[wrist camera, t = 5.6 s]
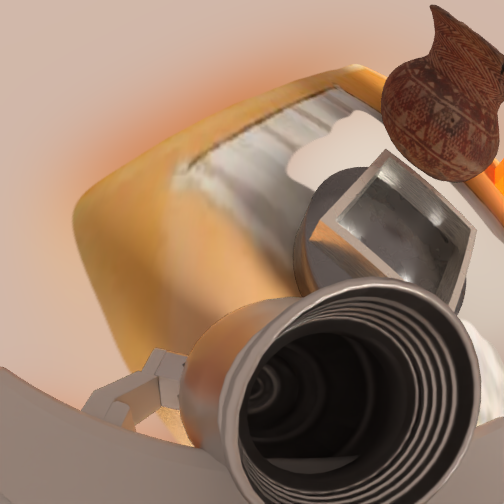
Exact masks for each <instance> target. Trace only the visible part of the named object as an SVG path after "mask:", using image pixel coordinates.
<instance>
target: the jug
mask: <svg viewBox="0 0 504 504" xmlns="http://www.w3.org/2000/svg"><path fill="white" fill-rule="evenodd" d="M430 9H431V11H432V15H433V19H434V27H435V38H434V42H433V45H432V48H431V50H430V52H429V54H428V55H427V56H425V57H422V58H417V59H414V60H411V61H408V62H405V63H403V64H402V65H400V66H398V67H397V68H396V69H395V70H394V71H393V72H392V73H391V74H390V75H389V77H388V78H387V80H386V82H385V84H384V87H383V92H382V98H381V112H382V119H383V123H384V126H385V128H386V130H387V132H388V135H389V137H390V139H391V141H392V142H393V144H394V145H395V147H396V148H397V149H398V151H399V152H400V153H401V154H402V155H403V156H404V157H405V158H406V159H407V160H408V161H409V162H411V163H412V164H413V165H414V166H415V167H417V168H418V169H420V170H421V171H423V172H424V173H426V174H427V175H429V176H431V177H432V178H434V179H437V180H441V181H448V182H464V181H467V180H469V179H471V178H473V177H475V176H477V175H478V174H480V173H482V172H483V171H484V170H485V169H486V168H487V167H488V166H489V165H490V164H491V163H492V162H493V160H494V158H495V156H496V155H497V151H498V147H499V126H498V115H497V112H498V109H499V107H500V105H501V103H502V102H503V101H504V55H503V54H501V53H500V52H499V51H498V50H497V49H496V48H495V47H494V46H492V45H491V44H490V43H489V42H487V41H486V40H485V39H484V38H483V37H481V36H480V35H479V34H477V33H476V32H474V31H473V30H472V29H470V28H469V27H468V26H467V25H466V24H464V23H463V22H460V21H458V20H457V19H455V18H454V17H453V16H452V15H451V14H450V13H449V12H447V11H445V10H444V9H442V8H441V7H439V6H437V5H430Z"/></svg>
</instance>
